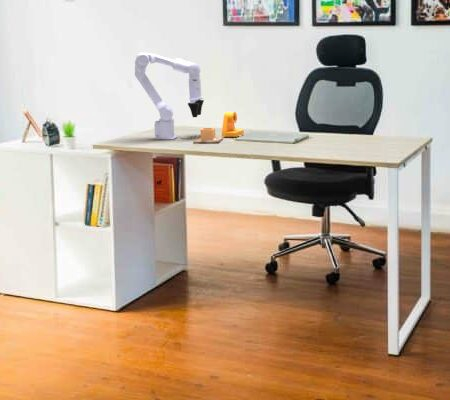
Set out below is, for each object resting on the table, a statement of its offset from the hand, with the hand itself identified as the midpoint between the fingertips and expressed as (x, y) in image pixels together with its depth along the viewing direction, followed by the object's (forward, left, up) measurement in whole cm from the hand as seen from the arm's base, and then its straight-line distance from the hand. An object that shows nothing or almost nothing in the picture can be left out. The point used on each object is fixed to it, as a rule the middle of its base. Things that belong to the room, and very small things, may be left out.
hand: (196, 116), depth 462 cm
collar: (+9, -14, -9) cm, 19 cm away
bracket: (+18, +2, -11) cm, 21 cm away
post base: (+9, -14, -10) cm, 20 cm away
